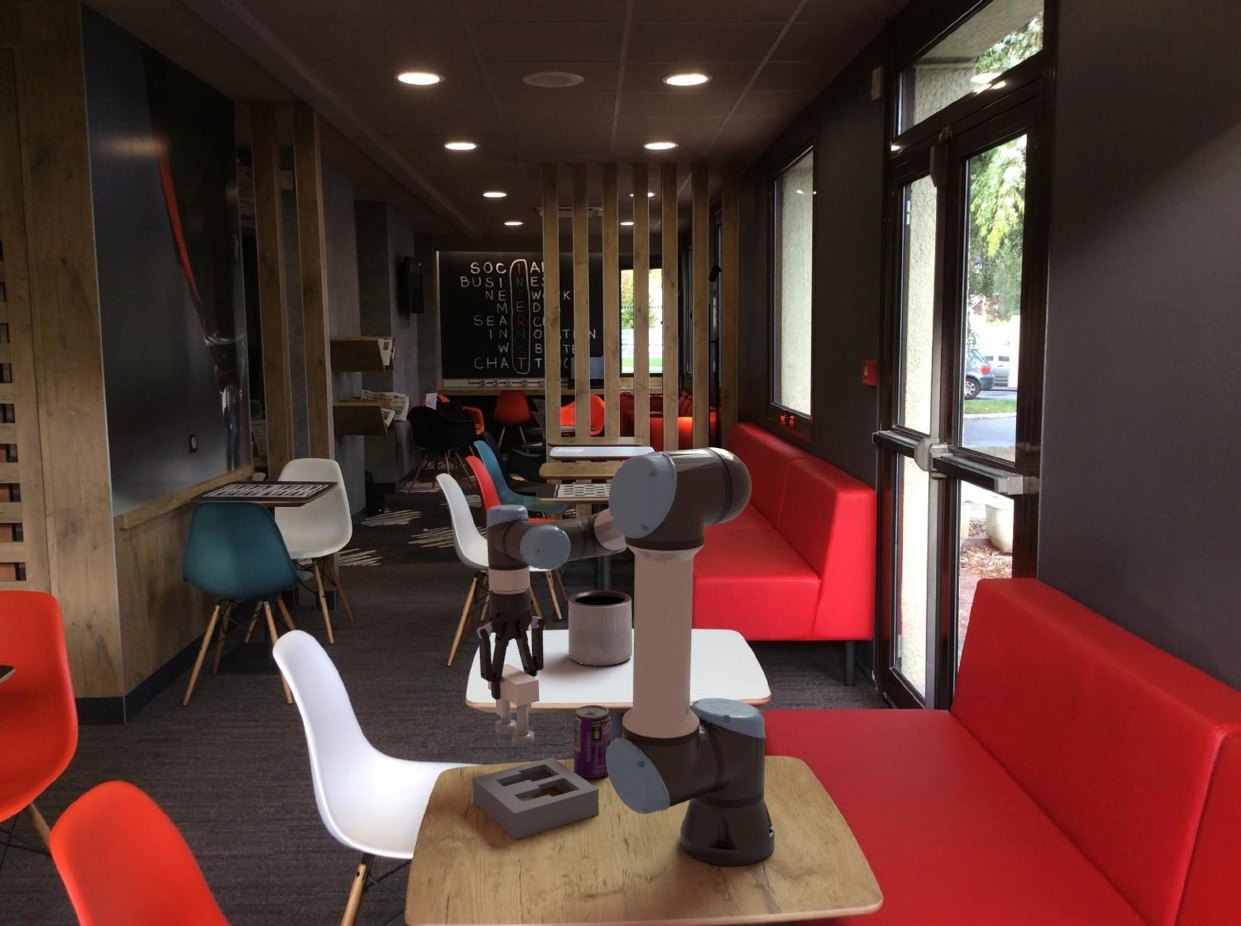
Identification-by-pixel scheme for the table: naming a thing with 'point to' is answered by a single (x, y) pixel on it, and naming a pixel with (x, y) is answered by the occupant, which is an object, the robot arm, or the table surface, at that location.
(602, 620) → the planter
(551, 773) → the keyhole board
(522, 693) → the bar
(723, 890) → the table surface
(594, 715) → the beverage can
